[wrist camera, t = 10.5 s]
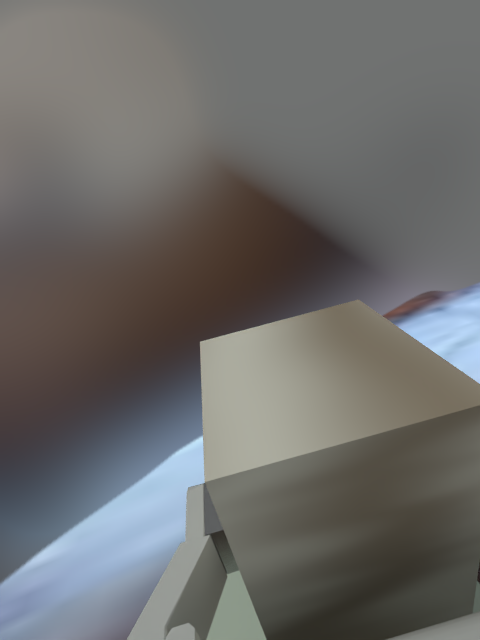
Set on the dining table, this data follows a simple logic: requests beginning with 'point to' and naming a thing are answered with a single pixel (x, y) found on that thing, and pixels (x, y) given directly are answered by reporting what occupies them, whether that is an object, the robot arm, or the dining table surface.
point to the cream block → (343, 474)
